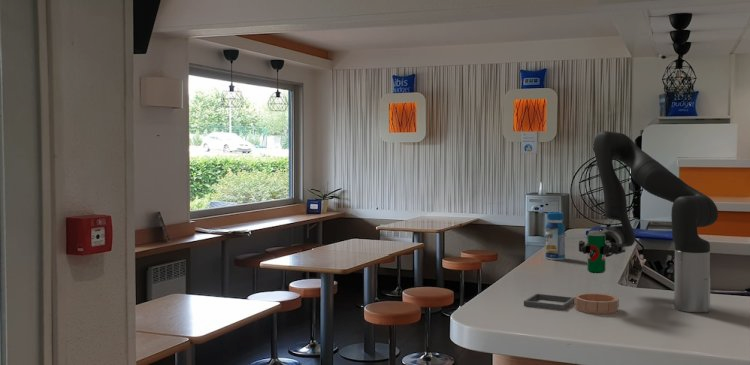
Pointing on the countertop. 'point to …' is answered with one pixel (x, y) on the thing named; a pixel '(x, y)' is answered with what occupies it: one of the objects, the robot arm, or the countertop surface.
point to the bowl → (596, 303)
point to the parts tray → (567, 303)
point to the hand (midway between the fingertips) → (594, 250)
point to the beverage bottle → (555, 236)
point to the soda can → (596, 252)
